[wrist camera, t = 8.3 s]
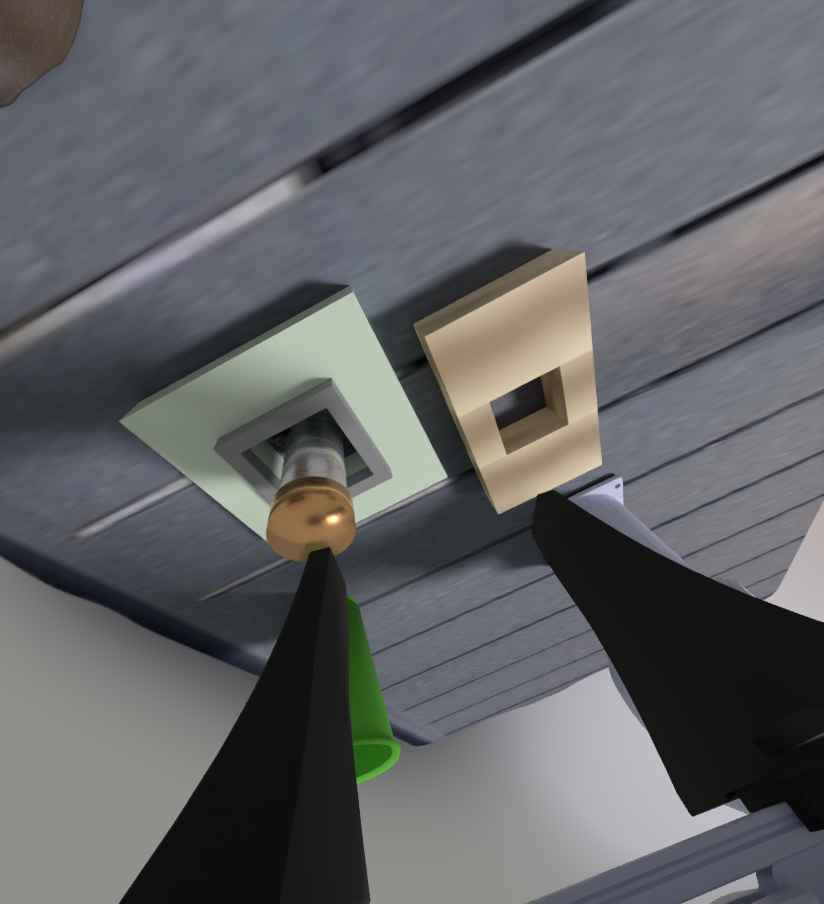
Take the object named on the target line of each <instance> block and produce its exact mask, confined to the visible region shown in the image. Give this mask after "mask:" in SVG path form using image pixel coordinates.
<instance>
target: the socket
mask: <svg viewBox="0 0 824 904" xmlns="http://www.w3.org/2000/svg"><path fill="white" fill-rule="evenodd" d="M325 408H327V409H328V411H329V412H330V413H331V415H332V416H333V418H334V419H335V421H336V422H337V423H338V425H339V426H340V428H341V429H342V430H343V432H344V433H345V435H346V436H347V437H348V439H349V440H350V442H351V443H352V444H353V446H354V447H355V449H356V450H357V452H355V453H353V454H351V455H350V456H348V457H346V458H344V460H345V470H346V481H347V490H348V491H349V492H350V494H351V496H352V499H353V506H354V515H355V523H357V522H359V521H361V520H363V519H365V518H367V517H369V516H371V515H373V514H375V513H377V512H379V511H381V510H383V509H385V508H387V507H389V506H391V505H393V504H395V503H397V502H399V501H401V500H403V499H405V498H407V497H409V496H411V495H413V494H415V493H417V492H419V491H421V490H423V489H425V488H427V487H429V486H431V485H433V484H435V483H437V482H439V481H441V480H443V479H445V478H447V475H446V473H445V471H444V469H443V467H442V465H441V463H440V461H439V459H438V457H437V455H436V453H435V451H434V449H433V447H432V445H431V443H430V441H429V439H428V437H427V435H426V433H425V431H424V429H423V427H422V426H421V424H420V422H419V420H418V418H417V416H416V414H415V412H414V410H413V408H412V406H411V404H410V402H409V400H408V398H407V396H406V394H405V392H404V390H403V388H402V386H401V384H400V382H399V381H398V379H397V377H396V375H395V373H394V371H393V369H392V367H391V365H390V363H389V361H388V359H387V357H386V355H385V353H384V351H383V349H382V347H381V345H380V343H379V341H378V339H377V337H376V336H375V334H374V332H373V330H372V328H371V326H370V324H369V322H368V320H367V318H366V316H365V314H364V312H363V310H362V308H361V306H360V304H359V302H358V300H357V298H356V296H355V294H354V293H353V291H352V289H351V287H350V286H348V287H346V288H344V289H343V290H341V291H339V292H337V293H335V294H334V295H332V296H330V297H328V298H326V299H325V300H323V301H321V302H319V303H317V304H315V305H314V306H312V307H310V308H308V309H306V310H305V311H303V312H301V313H299V314H297V315H296V316H294V317H292V318H290V319H288V320H287V321H285V322H283V323H281V324H279V325H278V326H276V327H274V328H272V329H270V330H269V331H267V332H265V333H263V334H261V335H260V336H258V337H256V338H254V339H252V340H251V341H249V342H247V343H245V344H243V345H242V346H240V347H238V348H236V349H234V350H232V351H231V352H229V353H227V354H225V355H223V356H222V357H220V358H218V359H216V360H214V361H213V362H211V363H209V364H207V365H205V366H204V367H202V368H200V369H198V370H196V371H195V372H193V373H191V374H189V375H187V376H186V377H184V378H182V379H180V380H178V381H177V382H175V383H173V384H171V385H169V386H168V387H166V388H164V389H162V390H160V391H159V392H157V393H155V394H153V395H151V396H150V397H148V398H146V399H144V400H142V401H140V402H139V403H138V404H137V405H136V406H135V407H133V408H132V409H131V410H130V411H129V412H128V413H127V414H126V415H125V416H124V417H123V418H122V419H121V420H120V421H119V422H120V423H121V424H123V425H124V426H125V427H126V428H127V429H129V430H130V431H131V432H132V433H134V434H135V435H136V436H137V437H139V438H140V439H141V440H142V441H144V442H145V443H146V444H147V445H148V446H150V447H151V448H152V449H153V450H155V451H156V452H157V453H158V454H160V455H161V456H162V457H163V458H164V459H166V460H167V461H168V462H169V463H171V464H172V465H173V466H174V467H176V468H177V469H178V470H179V471H181V472H182V473H183V474H184V475H185V476H187V477H188V478H189V479H190V480H192V481H193V482H194V483H195V484H197V485H198V486H199V487H200V488H201V489H203V490H204V491H205V492H206V493H208V494H209V495H210V496H211V497H213V498H214V499H215V500H216V501H218V502H219V503H220V504H221V505H222V506H224V507H225V508H226V509H227V510H229V511H230V512H231V513H232V514H234V515H235V516H236V517H237V518H238V519H240V520H241V521H242V522H243V523H245V524H246V525H247V526H248V527H250V528H251V529H252V530H253V531H254V532H256V533H257V534H258V535H259V536H261V537H262V538H263V539H264V540H266V541H267V539H266V528H267V523H268V518H269V512H270V507H271V502H272V499H273V497H274V495H275V494H276V492H277V491H278V490H279V486H280V480H281V474H282V468H283V462H284V459H283V458H282V457H281V456H280V455H279V454H278V453H277V451H276V450H275V449H274V448H273V447H272V446H271V445H270V444H269V443H268V442H267V441H266V439H268V438H270V437H272V436H274V435H276V434H278V433H279V432H281V431H283V430H285V429H287V428H289V427H291V426H293V425H295V424H296V423H298V422H300V421H302V420H304V419H306V418H308V417H310V416H312V415H313V414H315V413H317V412H319V411H321V410H323V409H325Z"/></svg>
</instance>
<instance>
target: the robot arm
mask: <svg viewBox="0 0 824 904" xmlns="http://www.w3.org/2000/svg"><path fill="white" fill-rule="evenodd" d="M532 535H533V537H534V539H535V541H536V543H537V545H538V547H539V549H540V551H541V552H542V554H543V556H544V558H545V560H546V561H547V563H548V566H549V568H550V569H551V570H553V572H554V573H555V575H556V576H557V578H558V579H559V581H560V582H561V583H562V585H563V586H564V588H565V589H566V591H567V592H568V593H569V595H570V596H571V598H572V599H573V601H574V602H575V604H576V605H577V606H578V608H579V609H580V611H581V612H582V614H583V615H584V617H585V618H586V620H587V621H588V623H589V624H590V626H591V627H592V629H593V630H594V632H595V634H596V635H597V637H598V639H599V641H600V642H601V644H602V646H603V648H604V650H605V651H606V653H607V657H608V665H609V671H610V674H611V677H612V679H613V681H614V683H615V686H616V687H617V689H618V691H619V693H620V694H621V696H622V698H623V700H624V701H625V703H626V704H627V705H628V707H629V709H630V710H631V711H632V713H633V714H634V715H635V717H636V718H637V719H638V721H639V722H640V723H641V724H642V725H643V727H645V729H646V730H647V731H648V733H649V734H650V737H651V739H652V741H653V743H654V745H655V747H656V749H657V751H658V754H659V756H660V758H661V760H662V762H663V764H664V766H665V768H666V770H667V772H668V775H669V777H670V779H671V781H672V784H673V786H674V788H675V790H676V792H677V794H678V796H679V797H680V799H681V801H682V802H683V804H684V805H685V807H686V808H687V810H688V812H689V813H690V814H691V815H692V817H693V816H696V815H698V814H701V813H703V812H706V811H709V810H711V809H714V808H716V807H719V806H721V805H726V806H729V807H731V808H734V809H736V810H739V811H741V812H744V813H746V814H749V815H746V816H744V817H741V818H738V819H736V820H734V821H731V822H729V823H726V824H724V825H721V826H718V827H716V828H713V829H711V830H708V831H706V832H703V833H701V834H698V835H696V836H693V837H691V838H688V839H686V840H683V841H681V842H678V843H676V844H674V845H671V846H668V847H666V848H664V849H661V850H658V851H656V852H653V853H651V854H648V855H646V856H643V857H641V858H638V859H636V860H633V861H631V862H628V863H626V864H623V865H621V866H618V867H616V868H613V869H611V870H608V871H606V872H603V873H601V874H598V875H596V876H593V877H591V878H588V879H586V880H583V881H581V882H578V883H576V884H573V885H571V886H568V887H566V888H563V889H561V890H558V891H556V892H553V893H550V894H548V895H545V896H543V897H540V898H538V899H536V900H533V901H530V902H528V903H525V904H681V903H684V902H686V901H688V900H691V899H693V898H695V897H698V896H700V895H702V894H705V893H707V892H709V891H712V890H714V889H716V888H719V887H721V886H724V885H726V884H729V883H731V882H733V881H735V880H738V879H740V878H743V877H745V876H747V875H750V874H752V873H754V872H756V877H757V880H758V884H759V887H758V889H751V890H745V891H740V892H735V893H731V894H728V895H726V896H723V897H720V898H718V899H716V900H715V901H713V902H712V903H710V904H824V622H821V621H817V620H815V619H811V618H809V617H806V616H803V615H801V614H798V613H795V612H793V611H789V610H787V609H784V608H782V607H779V606H776V605H774V604H771V603H768V602H766V601H763V600H761V599H758V598H756V597H755V596H754V595H753V594H751V593H750V592H749V591H748V590H747V589H745V588H744V587H743V586H742V585H740V584H739V583H738V582H736V581H731V580H724V579H722V578H717V579H716V580H713V579H711V578H708V577H706V576H704V575H702V574H700V573H697V572H695V571H694V570H693V569H692V568H691V567H690V566H689V565H688V564H687V563H686V562H685V561H683V560H682V559H681V558H680V557H679V556H678V555H677V554H676V553H675V552H674V551H673V550H671V549H670V548H669V547H668V546H667V545H666V544H665V543H664V542H663V541H662V540H661V539H659V538H658V537H657V536H656V535H655V534H654V533H653V532H652V531H651V530H650V529H649V528H648V527H646V526H645V525H644V524H643V523H642V522H641V521H640V520H639V519H638V518H637V517H636V516H634V515H633V514H632V513H631V512H630V511H629V510H628V509H627V508H626V507H625V506H624V505H623V479H622V478H621V477H620V476H619V475H615V476H613V477H611V478H609V479H607V480H604V481H602V482H600V483H598V484H596V485H594V486H592V487H590V488H588V489H586V490H584V491H582V492H579V493H577V494H575V495H573V496H571V497H569V498H566V497H564V496H562V495H561V494H559V493H558V492H556V491H554V490H552V491H548V492H544V493H540V494H537V500H536V507H535V514H534V521H533V528H532ZM369 903H370V893H369V886H368V878H367V869H366V861H365V853H364V845H363V836H362V828H361V818H360V809H359V800H358V792H357V781H356V771H355V761H354V750H353V739H352V728H351V716H350V701H349V613H348V603H347V594H346V586H345V581H344V579H343V577H342V574H341V572H340V569H339V567H338V565H337V562H336V560H335V557H334V555H333V553H332V550H331V548H330V547H327V548H323V549H319V550H315V551H311V552H310V554H309V555H308V559H307V562H306V565H305V569H304V572H303V575H302V578H301V581H300V584H299V587H298V589H297V592H296V595H295V598H294V600H293V603H292V605H291V608H290V611H289V613H288V616H287V618H286V621H285V623H284V626H283V628H282V630H281V633H280V635H279V637H278V639H277V642H276V644H275V646H274V648H273V651H272V653H271V655H270V657H269V659H268V662H267V664H266V666H265V668H264V670H263V672H262V674H261V676H260V678H259V680H258V682H257V684H256V686H255V688H254V690H253V692H252V694H251V696H250V697H249V699H248V701H247V703H246V705H245V707H244V709H243V710H242V712H241V714H240V716H239V717H238V719H237V721H236V723H235V725H234V726H233V728H232V730H231V732H230V734H229V736H228V737H227V739H226V740H225V742H224V744H223V746H222V747H221V749H220V751H219V753H218V754H217V756H216V757H215V759H214V761H213V762H212V764H211V765H210V767H209V769H208V770H207V772H206V773H205V775H204V776H203V778H202V780H201V781H200V783H199V785H198V786H197V788H196V789H195V791H194V792H193V794H192V796H191V797H190V799H189V800H188V802H187V804H186V805H185V807H184V808H183V810H182V812H181V813H180V814H179V816H178V818H177V819H176V821H175V822H174V824H173V825H172V827H171V828H170V830H169V831H168V833H167V834H166V835H165V837H164V838H163V840H162V841H161V843H160V844H159V846H158V847H157V849H156V850H155V852H154V853H153V854H152V856H151V857H150V859H149V860H148V862H147V863H146V865H145V866H144V868H143V869H142V870H141V872H140V873H139V875H138V876H137V878H136V879H135V881H134V882H133V884H132V885H131V887H130V888H129V889H128V891H127V892H126V894H125V895H124V897H123V898H122V899H121V901H120V903H119V904H369Z"/></svg>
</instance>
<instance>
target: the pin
mask: <svg viewBox="0 0 824 904" xmlns="http://www.w3.org/2000/svg"><path fill="white" fill-rule="evenodd" d="M355 534H356V524H355V515H354V506H353V499H352V496H351V494H350V492H349V491H348V490H347V481H346V470H345V460H344V449H343V439H342V429H341V428H340V426H339V425H338V423H337V422H336V421H335V419H334V418H333V416H332V415H331V414H330V413H328V412H326V411H323V410H321V411H319V412H317V413H315V414H313V415H312V416H310V417H308V418H306V419H304V420H302V421H300V422H298V423H296V424H295V425H293V426H291V427H289V433H288V439H287V444H286V450H285V456H284V462H283V468H282V474H281V480H280V486H279V490H278V491H277V492H276V494H275V495H274V497H273V499H272V502H271V507H270V512H269V518H268V523H267V528H266V539H267V542H268V544H269V546H270V547H271V548H272V549H273V550H274V551H275V552H276V553H277V554H279V555H280V556H282V557H284V558H287V559H290V560H294V561H299V562H307V559H308V555H309V554H310V552H311V551H315V550H319V549H323V548H327V547H330V548H331V550H332V553H333V555H334V556H336V555H338V554H340V553H341V552H343V551H344V550H345V549H346V548H347V547H348V546H349V545H350V544H351V543H352V541H353V539H354V537H355Z"/></svg>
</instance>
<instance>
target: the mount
mask: <svg viewBox="0 0 824 904" xmlns="http://www.w3.org/2000/svg"><path fill="white" fill-rule="evenodd" d="M413 326H414V329H415V331H416V333H417V336H418V338H419V340H420V343H421V345H422V347H423V350H424V352H425V354H426V357H427V359H428V361H429V364H430V366H431V368H432V371H433V373H434V375H435V378H436V380H437V382H438V385H439V387H440V389H441V392H442V394H443V396H444V399H445V401H446V403H447V406H448V408H449V410H450V413H451V415H452V417H453V420H454V422H455V424H456V427H457V429H458V431H459V434H460V436H461V439H462V441H463V443H464V446H465V448H466V450H467V453H468V455H469V457H470V460H471V462H472V464H473V467H474V469H475V471H476V474H477V476H478V478H479V481H480V483H481V485H482V488H483V490H484V492H485V494H486V495H487V497H488V499H489V500H490V502H491V504H492V505H493V507H494V508H495V510H496V512H497V513H498V515H499V514H501V513H503V512H505V511H507V510H509V509H511V508H513V507H515V506H517V505H519V504H521V503H523V502H526V501H528V500H530V499H532V498H534V497H536V496H537V494H540V493H544V492H546V491H548V490H550V489H552V488H554V487H557V486H559V485H561V484H563V483H565V482H567V481H569V480H571V479H573V478H575V477H577V476H579V475H581V474H583V473H586V472H588V471H590V470H592V469H594V468H596V467H598V466H600V465H602V460H601V447H600V435H599V423H598V411H597V398H596V386H595V374H594V362H593V349H592V337H591V325H590V313H589V301H588V288H587V276H586V264H585V252H581V251H570V250H558V249H552V250H550V251H548V252H546V253H544V254H543V255H541V256H539V257H537V258H535V259H533V260H531V261H530V262H528V263H526V264H524V265H522V266H520V267H518V268H517V269H515V270H513V271H511V272H509V273H507V274H505V275H503V276H502V277H500V278H498V279H496V280H494V281H492V282H490V283H489V284H487V285H485V286H483V287H481V288H479V289H477V290H476V291H474V292H472V293H470V294H468V295H466V296H464V297H463V298H461V299H459V300H457V301H455V302H453V303H451V304H449V305H448V306H446V307H444V308H442V309H440V310H438V311H436V312H435V313H433V314H431V315H429V316H427V317H425V318H423V319H422V320H420V321H418V322H416V323H414V324H413ZM539 376H540V377H541V382H542V387H543V392H544V397H545V402H546V407H545V408H543V409H541V410H539V411H537V412H535V413H533V414H531V415H529V416H527V417H525V418H523V419H521V420H519V421H517V422H515V423H513V424H511V425H509V426H507V427H505V428H503V429H501V430H498V427H497V424H496V421H495V418H494V415H493V412H492V409H491V406H490V403H489V402H490V401H492V400H494V399H496V398H498V397H500V396H502V395H504V394H506V393H508V392H510V391H512V390H514V389H516V388H518V387H519V386H521V385H523V384H525V383H527V382H529V381H531V380H533V379H535V378H537V377H539Z"/></svg>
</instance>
